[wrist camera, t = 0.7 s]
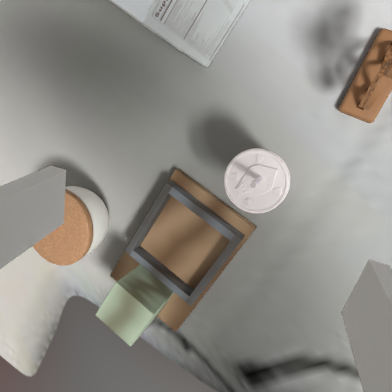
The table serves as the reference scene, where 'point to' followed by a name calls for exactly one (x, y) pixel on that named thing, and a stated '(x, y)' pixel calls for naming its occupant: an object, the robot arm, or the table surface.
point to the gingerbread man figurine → (371, 81)
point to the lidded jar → (76, 228)
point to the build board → (172, 258)
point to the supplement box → (187, 23)
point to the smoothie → (257, 180)
